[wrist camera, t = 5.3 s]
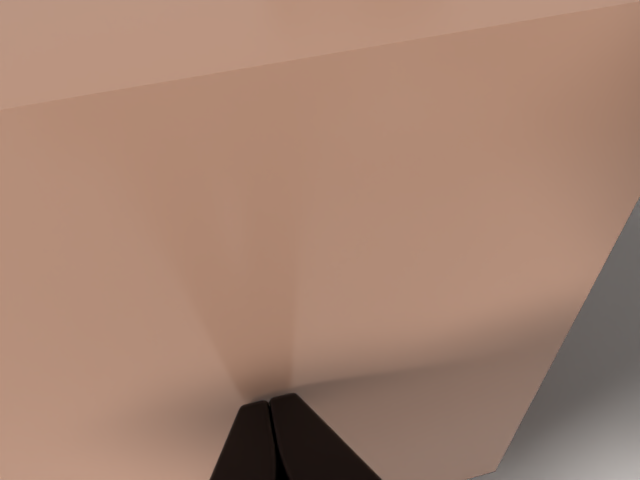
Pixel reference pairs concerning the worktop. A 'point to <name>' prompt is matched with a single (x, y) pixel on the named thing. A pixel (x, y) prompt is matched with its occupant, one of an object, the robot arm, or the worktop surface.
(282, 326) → the tan flat block
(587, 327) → the worktop surface
